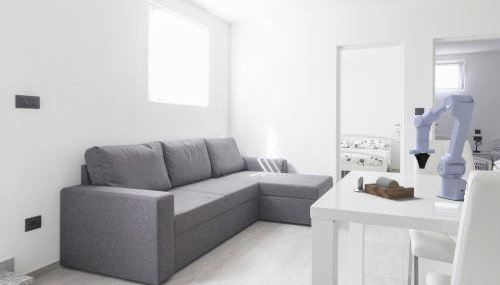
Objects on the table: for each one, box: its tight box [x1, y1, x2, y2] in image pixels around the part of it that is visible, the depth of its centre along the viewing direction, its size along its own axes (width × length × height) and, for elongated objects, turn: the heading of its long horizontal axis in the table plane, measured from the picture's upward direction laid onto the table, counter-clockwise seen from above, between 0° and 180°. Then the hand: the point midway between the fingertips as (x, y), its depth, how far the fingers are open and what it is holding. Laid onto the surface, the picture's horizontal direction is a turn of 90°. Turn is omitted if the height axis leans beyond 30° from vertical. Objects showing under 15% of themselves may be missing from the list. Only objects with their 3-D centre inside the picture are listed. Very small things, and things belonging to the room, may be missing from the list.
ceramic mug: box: [375, 176, 400, 189], centre depth 164 cm, size 11×8×8 cm
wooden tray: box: [363, 182, 415, 200], centre depth 163 cm, size 16×14×4 cm
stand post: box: [353, 176, 364, 193], centre depth 172 cm, size 6×6×7 cm
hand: (421, 168), depth 177 cm, fingers closed
